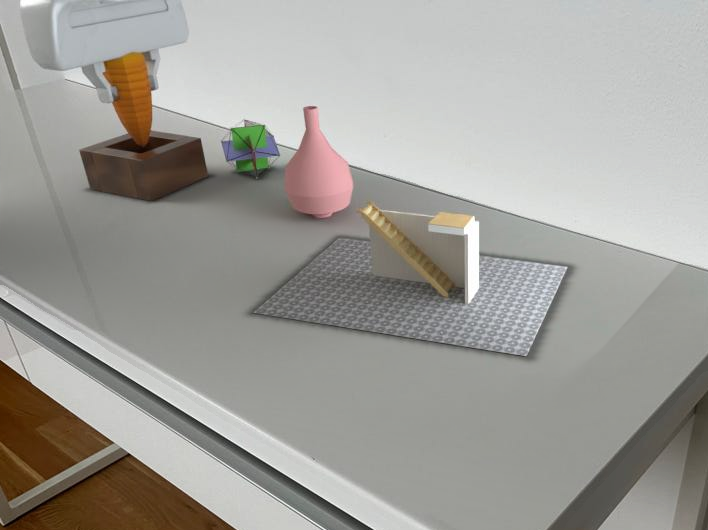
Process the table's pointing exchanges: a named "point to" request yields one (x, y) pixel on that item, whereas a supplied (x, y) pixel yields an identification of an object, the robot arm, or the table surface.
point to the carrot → (132, 94)
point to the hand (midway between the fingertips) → (130, 96)
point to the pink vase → (317, 173)
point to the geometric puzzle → (250, 147)
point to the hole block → (144, 165)
